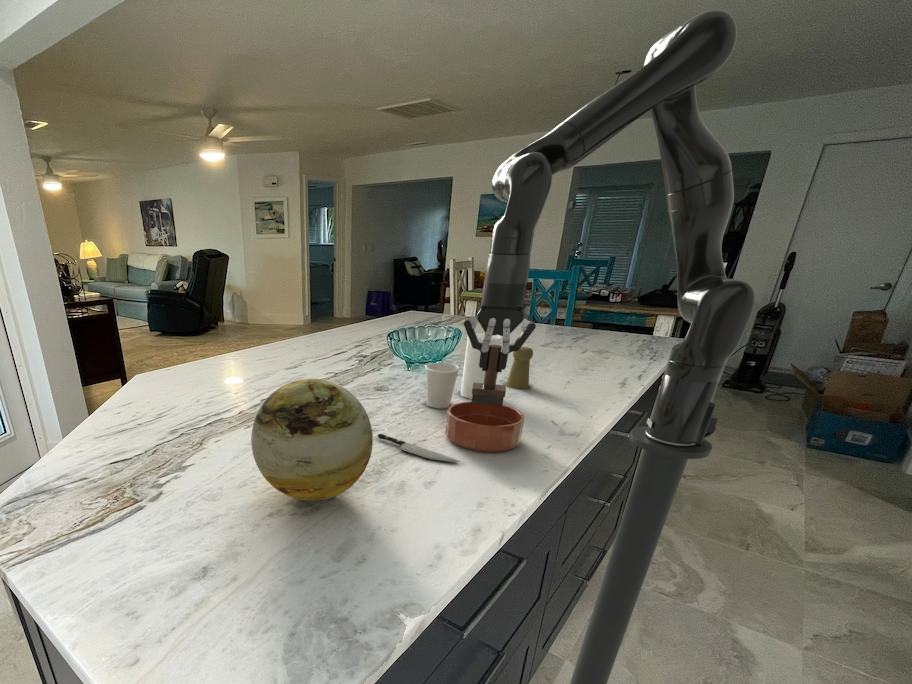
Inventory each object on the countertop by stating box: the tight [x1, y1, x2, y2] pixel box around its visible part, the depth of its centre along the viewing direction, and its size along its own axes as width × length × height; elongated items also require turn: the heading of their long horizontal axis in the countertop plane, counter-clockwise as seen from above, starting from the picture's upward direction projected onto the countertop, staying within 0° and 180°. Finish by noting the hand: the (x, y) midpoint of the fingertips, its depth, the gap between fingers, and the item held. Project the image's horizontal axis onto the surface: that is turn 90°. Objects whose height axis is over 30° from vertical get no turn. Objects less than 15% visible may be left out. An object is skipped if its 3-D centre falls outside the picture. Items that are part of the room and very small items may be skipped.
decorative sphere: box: [250, 378, 374, 502], centre depth 77 cm, size 20×20×20 cm
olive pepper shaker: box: [505, 346, 534, 389], centre depth 133 cm, size 6×6×11 cm
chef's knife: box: [377, 433, 461, 463], centre depth 95 cm, size 19×1×3 cm
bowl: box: [444, 400, 525, 453], centre depth 99 cm, size 15×15×6 cm
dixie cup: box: [424, 362, 460, 409], centre depth 119 cm, size 8×8×10 cm
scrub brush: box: [471, 344, 507, 406], centre depth 95 cm, size 6×4×12 cm
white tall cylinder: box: [460, 332, 502, 400], centre depth 124 cm, size 8×8×16 cm
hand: (491, 370), depth 94 cm, fingers closed on scrub brush, 2 cm apart
